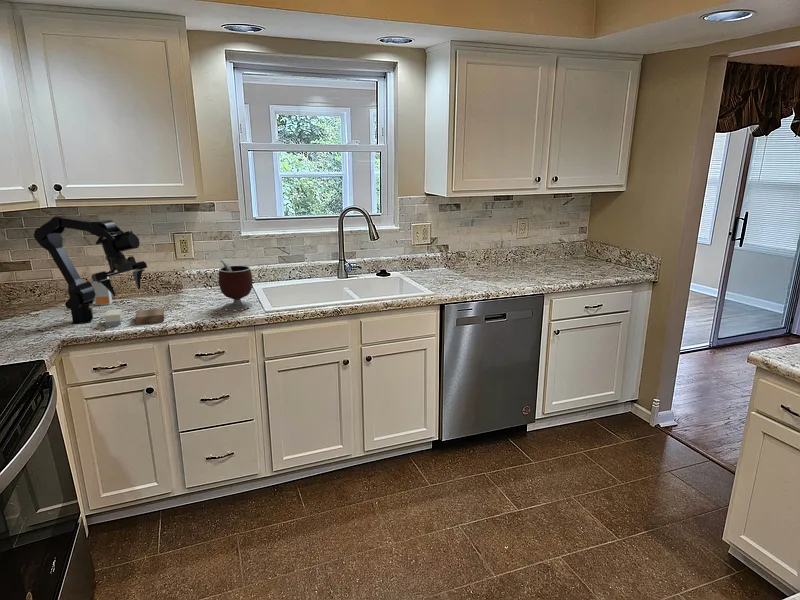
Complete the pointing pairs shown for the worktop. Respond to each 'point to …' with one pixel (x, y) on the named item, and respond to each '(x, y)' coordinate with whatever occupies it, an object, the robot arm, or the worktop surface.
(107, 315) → the lid plate
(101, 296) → the skincare box
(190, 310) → the worktop surface
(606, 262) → the worktop surface
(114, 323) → the base plate
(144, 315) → the walnut stand
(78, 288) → the robot arm
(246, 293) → the mate gourd
